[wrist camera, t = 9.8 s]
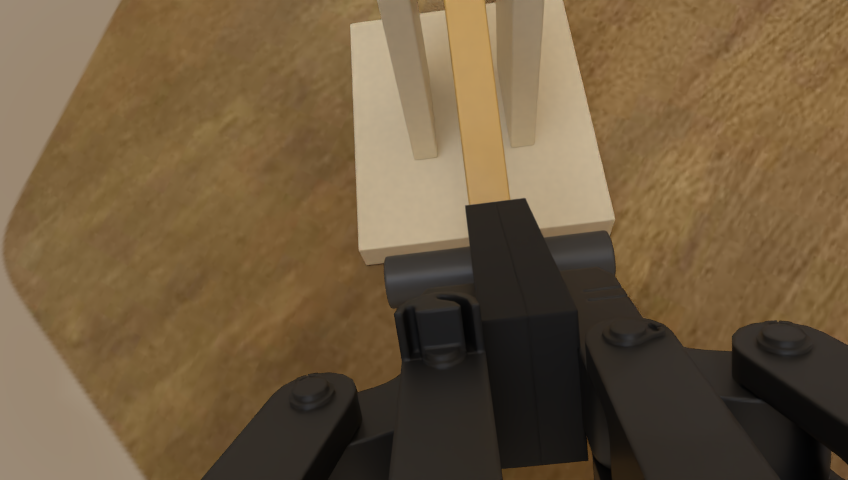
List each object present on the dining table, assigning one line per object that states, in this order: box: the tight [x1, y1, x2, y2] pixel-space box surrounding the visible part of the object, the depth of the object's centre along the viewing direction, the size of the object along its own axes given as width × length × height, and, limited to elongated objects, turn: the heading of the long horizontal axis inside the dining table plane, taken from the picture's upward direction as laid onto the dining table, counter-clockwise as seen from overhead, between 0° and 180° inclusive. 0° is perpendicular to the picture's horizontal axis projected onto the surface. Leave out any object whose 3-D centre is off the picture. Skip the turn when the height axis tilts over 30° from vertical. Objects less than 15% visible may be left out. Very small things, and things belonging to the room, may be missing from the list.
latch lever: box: [384, 0, 616, 309], centre depth 18 cm, size 13×6×2 cm, turn 4°
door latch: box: [350, 0, 615, 265], centre depth 23 cm, size 12×10×14 cm
